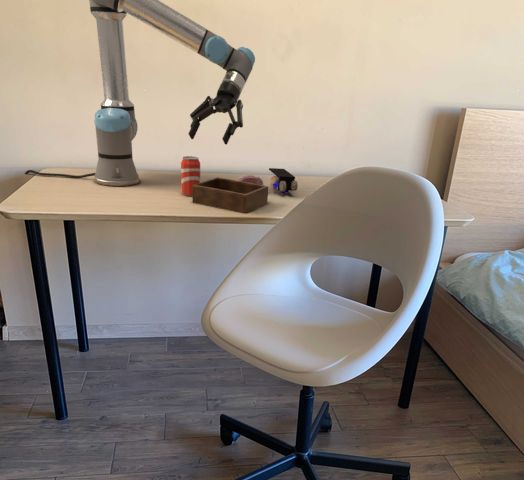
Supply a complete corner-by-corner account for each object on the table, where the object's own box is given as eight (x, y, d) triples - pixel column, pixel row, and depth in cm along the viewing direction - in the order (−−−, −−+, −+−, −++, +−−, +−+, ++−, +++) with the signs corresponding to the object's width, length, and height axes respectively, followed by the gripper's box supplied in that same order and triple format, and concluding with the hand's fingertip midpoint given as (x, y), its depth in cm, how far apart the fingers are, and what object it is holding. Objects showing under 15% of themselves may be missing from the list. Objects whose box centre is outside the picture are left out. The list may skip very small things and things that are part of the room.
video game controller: (235, 196, 183) (238, 180, 177) (233, 187, 185) (235, 171, 179) (262, 196, 185) (265, 180, 179) (259, 187, 188) (262, 171, 182)
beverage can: (194, 191, 178) (194, 155, 172) (203, 196, 173) (203, 159, 167) (178, 192, 175) (178, 156, 169) (186, 197, 170) (186, 159, 164)
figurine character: (297, 201, 182) (282, 186, 193) (300, 179, 177) (284, 166, 188) (280, 201, 180) (265, 186, 191) (283, 180, 175) (267, 166, 186)
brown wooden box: (192, 202, 165) (192, 184, 163) (217, 193, 178) (217, 177, 175) (245, 213, 158) (246, 195, 156) (267, 203, 171) (268, 186, 168)
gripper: (196, 77, 179) (172, 127, 175) (259, 83, 170) (235, 136, 166) (204, 93, 186) (181, 141, 182) (265, 100, 177) (242, 151, 173)
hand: (207, 139), depth 174 cm, fingers open, 13 cm apart
